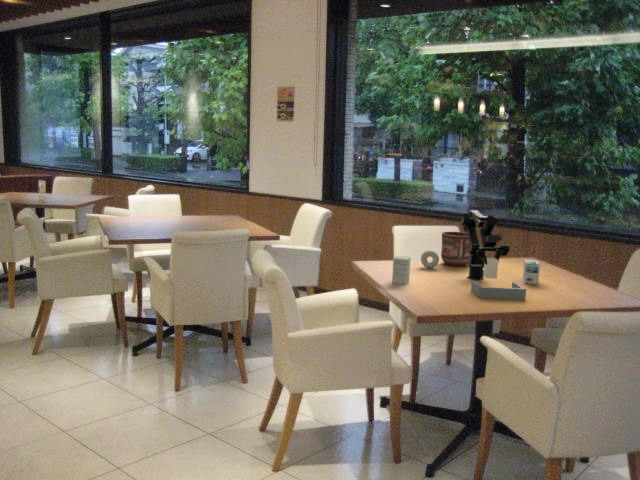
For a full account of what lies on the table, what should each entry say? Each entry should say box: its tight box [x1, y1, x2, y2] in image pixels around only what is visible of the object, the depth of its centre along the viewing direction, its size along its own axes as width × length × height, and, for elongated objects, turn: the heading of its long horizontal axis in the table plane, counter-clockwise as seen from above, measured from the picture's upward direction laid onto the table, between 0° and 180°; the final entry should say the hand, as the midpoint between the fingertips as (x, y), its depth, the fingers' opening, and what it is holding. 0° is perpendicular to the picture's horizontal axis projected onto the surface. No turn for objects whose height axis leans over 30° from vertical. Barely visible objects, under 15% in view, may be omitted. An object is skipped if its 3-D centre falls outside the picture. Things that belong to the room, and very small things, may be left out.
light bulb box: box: [522, 259, 541, 285], centre depth 323 cm, size 11×7×11 cm, turn 168°
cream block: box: [483, 257, 499, 279], centre depth 303 cm, size 5×5×9 cm
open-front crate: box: [470, 280, 527, 301], centre depth 292 cm, size 14×21×5 cm, turn 93°
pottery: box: [440, 231, 470, 267], centre depth 360 cm, size 18×18×18 cm
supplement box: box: [391, 255, 411, 285], centre depth 310 cm, size 7×7×13 cm
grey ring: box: [420, 250, 440, 269], centre depth 348 cm, size 10×4×10 cm, turn 70°
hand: (492, 264), depth 301 cm, fingers closed on cream block, 5 cm apart
